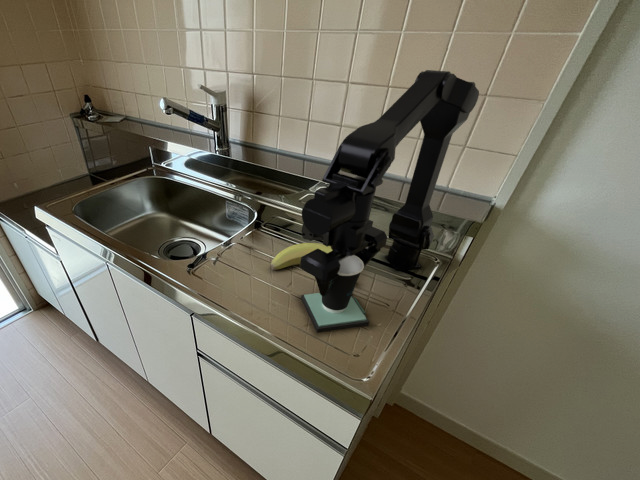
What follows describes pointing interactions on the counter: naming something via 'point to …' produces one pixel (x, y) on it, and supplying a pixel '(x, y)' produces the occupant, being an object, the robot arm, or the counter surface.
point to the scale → (333, 314)
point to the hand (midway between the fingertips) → (337, 286)
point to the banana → (296, 254)
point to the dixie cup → (343, 285)
